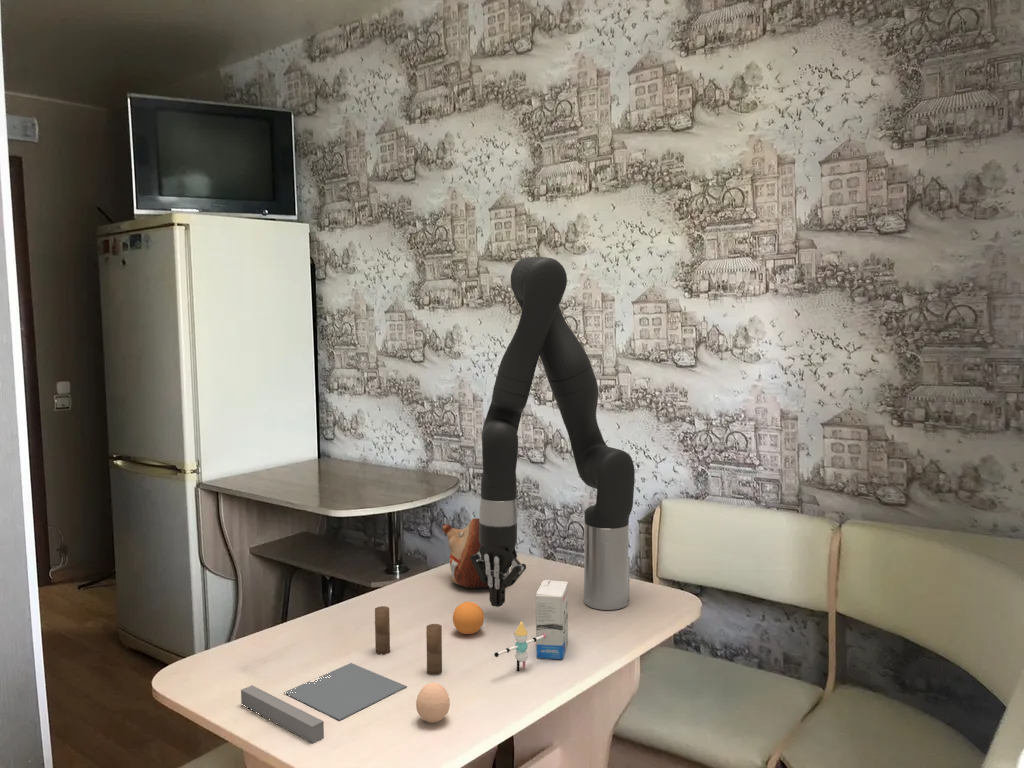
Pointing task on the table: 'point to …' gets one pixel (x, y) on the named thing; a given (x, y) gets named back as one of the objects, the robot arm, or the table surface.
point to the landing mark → (345, 691)
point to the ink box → (552, 619)
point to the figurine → (464, 554)
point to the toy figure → (520, 645)
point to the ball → (468, 618)
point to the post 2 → (434, 649)
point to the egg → (432, 702)
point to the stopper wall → (283, 714)
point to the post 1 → (382, 630)
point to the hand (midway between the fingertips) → (497, 605)
